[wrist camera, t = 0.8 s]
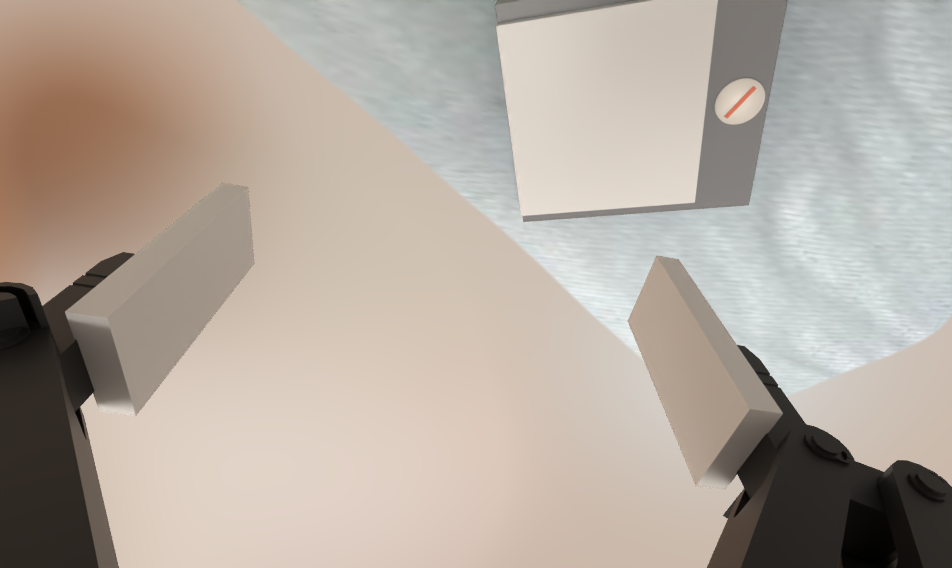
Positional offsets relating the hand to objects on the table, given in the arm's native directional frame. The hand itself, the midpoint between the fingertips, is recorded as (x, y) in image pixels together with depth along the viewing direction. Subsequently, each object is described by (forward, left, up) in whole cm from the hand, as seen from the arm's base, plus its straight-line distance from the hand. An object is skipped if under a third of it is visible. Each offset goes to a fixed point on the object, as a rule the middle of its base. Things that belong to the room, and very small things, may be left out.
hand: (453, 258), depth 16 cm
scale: (-8, +3, -23) cm, 24 cm away
